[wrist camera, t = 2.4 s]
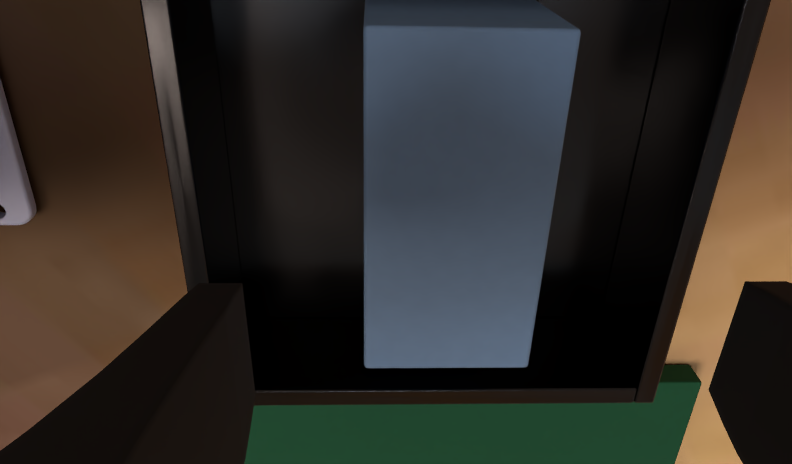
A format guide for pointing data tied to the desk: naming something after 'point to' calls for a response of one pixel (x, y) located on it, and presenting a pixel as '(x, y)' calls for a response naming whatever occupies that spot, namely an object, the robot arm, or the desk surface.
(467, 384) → the desk tray
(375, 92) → the blue-grey rectangular block
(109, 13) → the desk surface
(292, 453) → the felt mat
